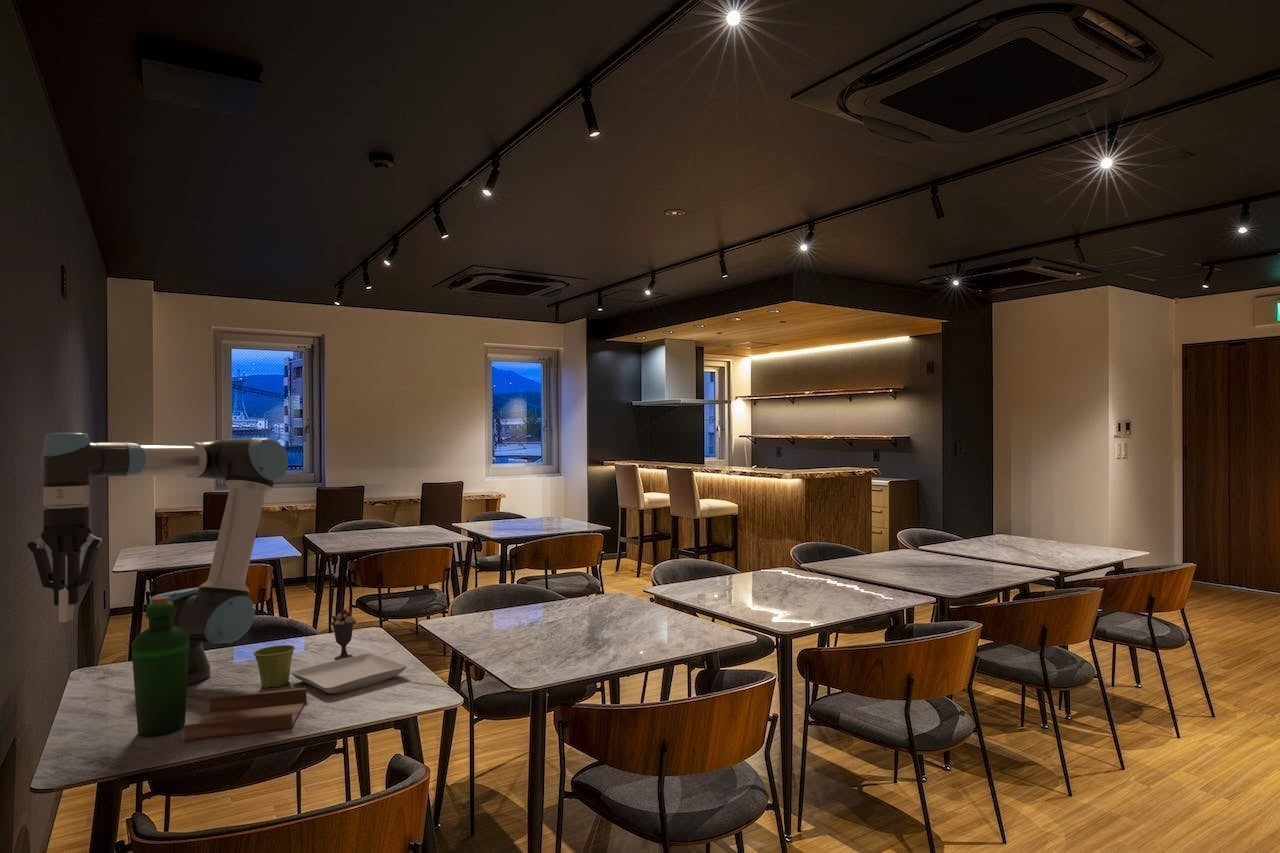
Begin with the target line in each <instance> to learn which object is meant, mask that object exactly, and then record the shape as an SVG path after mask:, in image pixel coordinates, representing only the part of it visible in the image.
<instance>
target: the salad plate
mask: <svg viewBox="0 0 1280 853" xmlns="http://www.w3.org/2000/svg"><path fill="white" fill-rule="evenodd" d="M406 669H407V665H406V664H402V663H401V662H398V661H395V660H391V659H388V658H386V657H382V656H379V655H377V654H373V653H368V652H367V653H364V654H359V655H353V657H349V658H344V659H340V660H332V661H328V662H323V663H320V664H317V665H313V666H309V667H305V668H301V669H297V670H294V671H292V673H291V674H292V675H293V677H294V678H295V679H297V680H299V681H301V682H303V683H305V684H307V685H311V686H312V687H315V688H317V689H319V690H320V691H323V692H325V693H327V694H341V693H345V692H349V691H353V690H357V689H361V688H365V687H367V686H371V685H374V684H378V683H381V682H386V681H387V680H388V681H389V679H391V678H394V677H396V676H398V675H400V674H402V673H403V672H404V671H405V670H406Z"/></svg>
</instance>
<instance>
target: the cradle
mask: <svg viewBox="0 0 1280 853" xmlns="http://www.w3.org/2000/svg"><path fill="white" fill-rule="evenodd" d="M307 696H308V695H307V687H302V688H293V689H292V688H291V689H283V690H272V691H271V690H270V691H263V692H253V693H246V694H245V693H243V694H236V695H225V696H224V695H223V696H215V697H211V698H209V710H208V712H207V713H206V714H205V715H204V716H203V717H202V719H201V720H200V721H199V722H198V723H191V724H184V725H183V726H184V727H183V737H184V738H183V741H184V742H193V741H201V740H209V739H217V738H218V739H219V738H225V737H234V736H243V735H252V734H261V733H269V732H277V731H284V730H285V731H286V730H292V728H293V727H294V725H295V723H296V722H297V719H298V717H299V715H300V714H301V712H302V710H303V708H304V706H305V705H306V702H307Z"/></svg>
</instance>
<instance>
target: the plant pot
mask: <svg viewBox="0 0 1280 853" xmlns="http://www.w3.org/2000/svg"><path fill="white" fill-rule="evenodd" d="M294 650H296V647H295V645H290V644H281V645H272V646H266V647H262V648H259V649H257V650H255V651H253V653H252V654H253V656H255V660H256V662H257V666H258V672H259V673H258V674H259V678H260V684H261V687H262V688H271V687H272V688H277V687H278V688H279V687H282V686H284V685H287V683H289V682H290V673H291V665H292V657H293V655H294Z"/></svg>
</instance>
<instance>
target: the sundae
mask: <svg viewBox="0 0 1280 853" xmlns="http://www.w3.org/2000/svg"><path fill="white" fill-rule="evenodd" d="M352 605H353V604H352V603H349V605H348V606H347V607H346V608H345V609H343V610H342V611H341V612H340V613H338V614H337V615H336V616H334V615H331V618H332V622H330V623H329V624H330V625H331V626H332V627H333V630H334V639H335V642H336V643H337V645H339V646H340V647H341V652H340V654H339V655H338V656H336V657H334V661H336V660H340V659H344V658H349V657H354V655H353V654H348V652H347V645H348V644H349V643H350V642H352V636H353V631H354V630H353V629H354V625H355V624H356V623H357V620H356V619H355V618H354V616H353V615H352V612H351V611H350V608H351V606H352Z"/></svg>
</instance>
